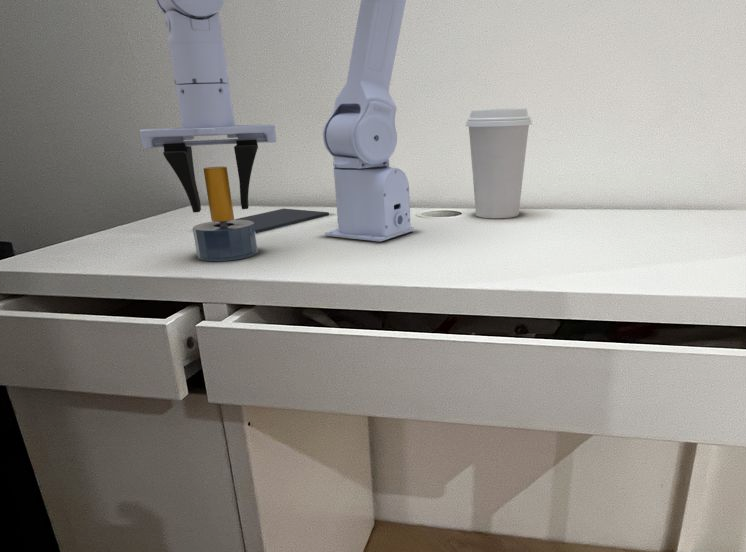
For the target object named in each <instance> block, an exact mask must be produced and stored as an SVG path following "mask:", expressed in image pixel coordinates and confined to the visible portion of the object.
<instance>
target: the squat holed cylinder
mask: <svg viewBox="0 0 746 552" xmlns="http://www.w3.org/2000/svg"><path fill="white" fill-rule="evenodd" d="M227 224H228V226H226V227H220V223H219V222H214V221H212V220H211V221H207V222H206V221H205V222H201V223H197V224H195V225H194V226H193V227H192V232H193V239H194V240H193V241H194V245H195V250H196V255H197V258H198V260H201V261H203V262H229V261H230V262H232V261H238V260H243V259H248V258H250V257H253V256H255V255H257V254H258V241H257V235H256V234H257V233H255V226H254V222H252V221H249V220H234V219H233V220H230V221H227Z"/></svg>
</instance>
